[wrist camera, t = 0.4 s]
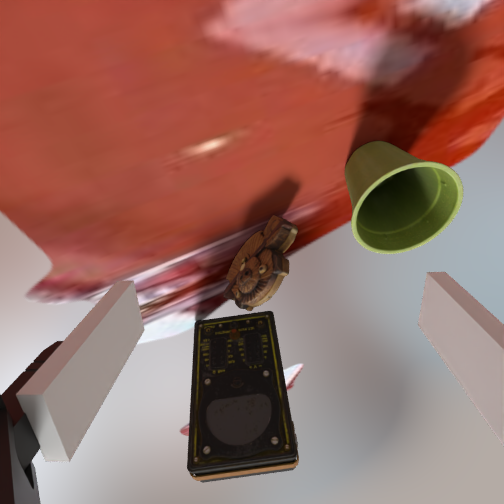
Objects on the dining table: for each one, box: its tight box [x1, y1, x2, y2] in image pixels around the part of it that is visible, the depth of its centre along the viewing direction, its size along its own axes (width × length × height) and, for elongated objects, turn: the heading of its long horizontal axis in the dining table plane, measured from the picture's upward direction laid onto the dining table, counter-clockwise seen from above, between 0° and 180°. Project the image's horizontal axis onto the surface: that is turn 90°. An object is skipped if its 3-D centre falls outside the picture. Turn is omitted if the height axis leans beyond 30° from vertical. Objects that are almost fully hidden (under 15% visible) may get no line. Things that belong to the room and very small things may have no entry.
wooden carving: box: [224, 215, 298, 311], centre depth 47 cm, size 16×5×10 cm, turn 151°
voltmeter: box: [187, 311, 299, 482], centre depth 55 cm, size 16×9×25 cm, turn 96°
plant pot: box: [345, 141, 463, 254], centre depth 40 cm, size 12×12×11 cm
